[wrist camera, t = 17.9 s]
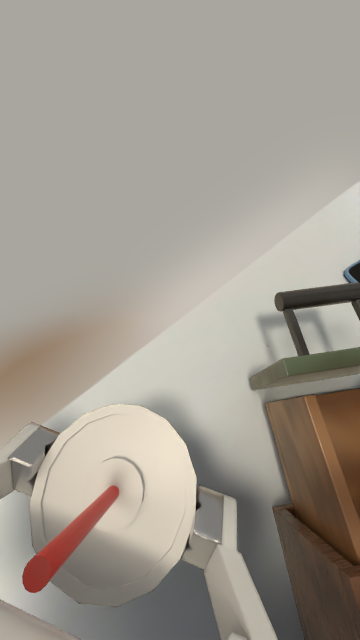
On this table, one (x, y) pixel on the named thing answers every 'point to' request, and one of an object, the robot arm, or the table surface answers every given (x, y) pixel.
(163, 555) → the beverage cup
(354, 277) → the smartphone
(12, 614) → the robot arm
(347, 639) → the cabinet
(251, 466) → the table surface
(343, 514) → the drawer
